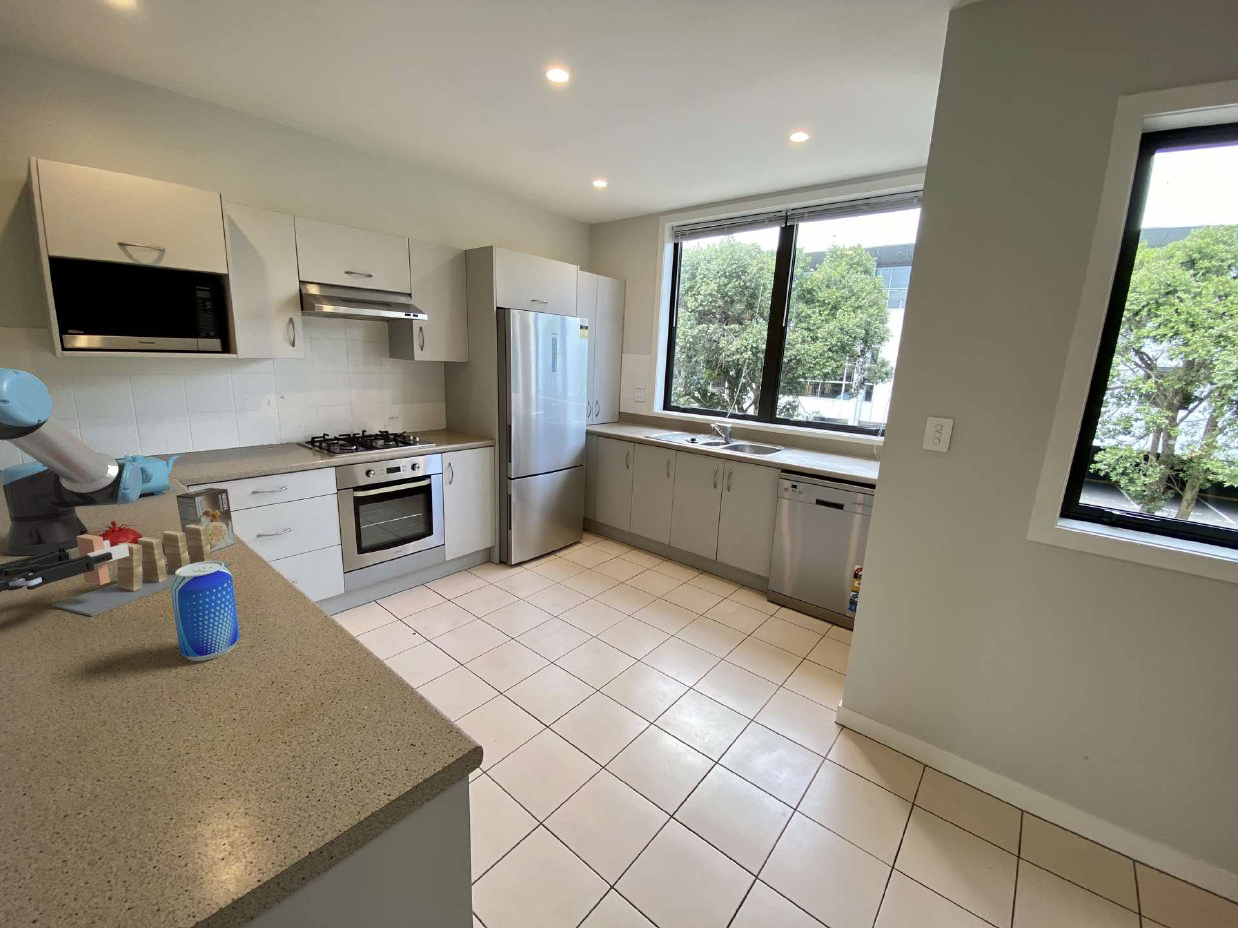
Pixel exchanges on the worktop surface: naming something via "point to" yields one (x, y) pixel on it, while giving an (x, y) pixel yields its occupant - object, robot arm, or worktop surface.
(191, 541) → the wooden block
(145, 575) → the tile
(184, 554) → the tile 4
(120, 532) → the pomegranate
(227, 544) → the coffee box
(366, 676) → the worktop surface
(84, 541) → the tile
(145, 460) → the teakettle
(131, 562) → the tile
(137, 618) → the worktop surface
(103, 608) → the slate board
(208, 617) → the beer can
